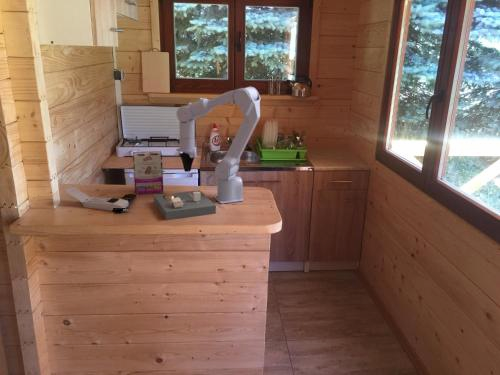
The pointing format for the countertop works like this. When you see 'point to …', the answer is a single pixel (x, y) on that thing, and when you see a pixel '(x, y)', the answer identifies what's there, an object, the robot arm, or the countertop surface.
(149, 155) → the candy bar box
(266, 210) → the countertop surface
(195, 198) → the tan rectangular block
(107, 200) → the white long dark-ended device
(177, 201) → the rocker switch
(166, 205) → the panel
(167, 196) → the push button
